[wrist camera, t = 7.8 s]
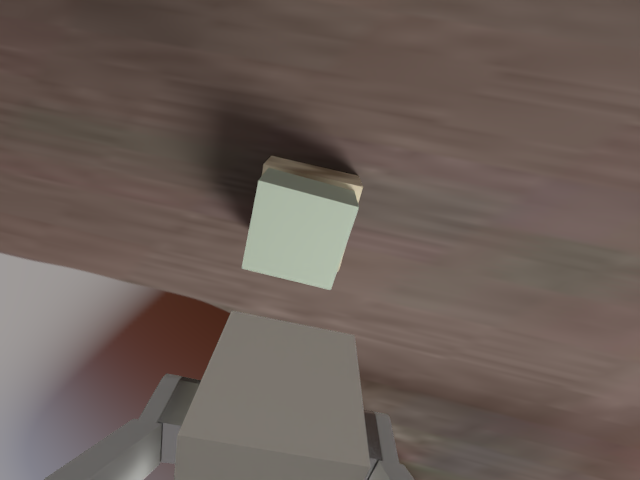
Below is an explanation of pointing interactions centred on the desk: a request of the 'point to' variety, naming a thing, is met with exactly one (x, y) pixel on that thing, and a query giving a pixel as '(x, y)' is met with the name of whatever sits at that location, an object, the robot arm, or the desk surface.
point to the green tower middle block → (299, 228)
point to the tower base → (316, 175)
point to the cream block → (276, 407)
